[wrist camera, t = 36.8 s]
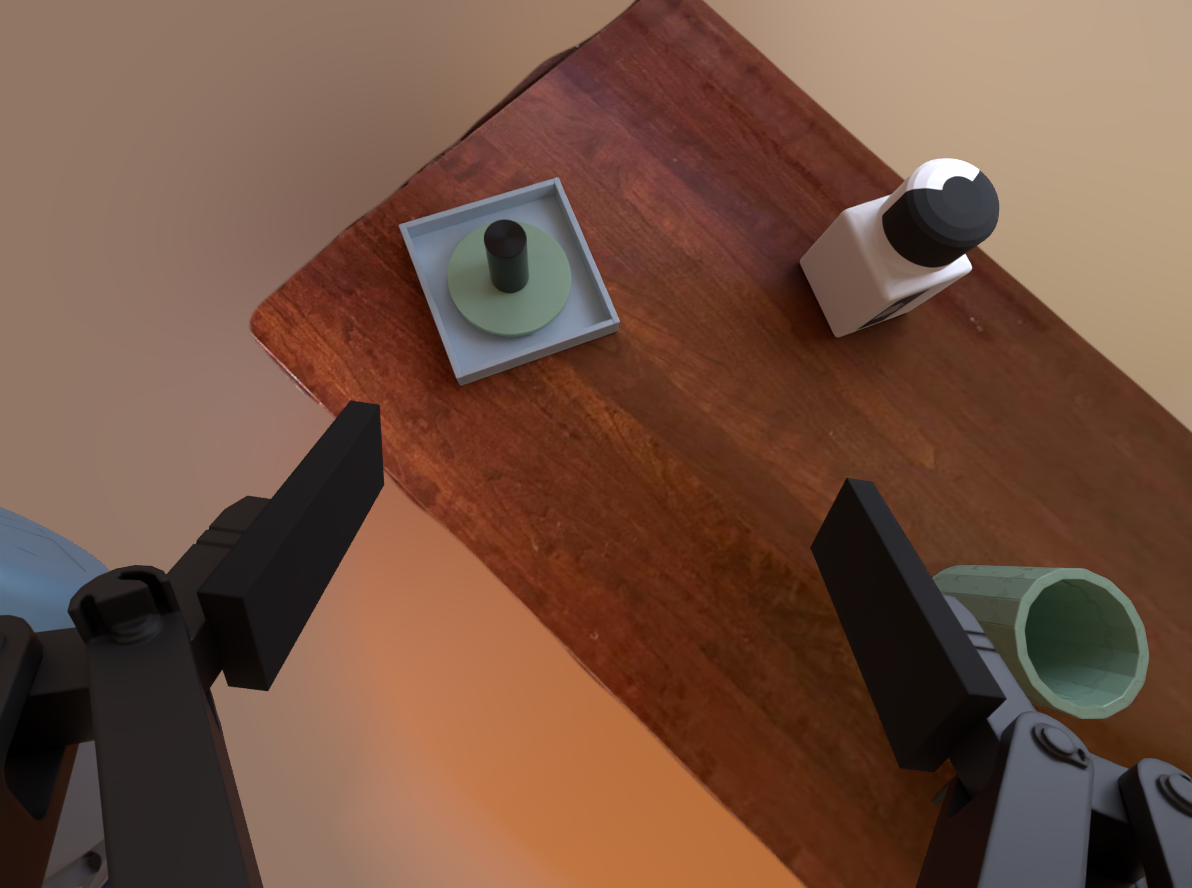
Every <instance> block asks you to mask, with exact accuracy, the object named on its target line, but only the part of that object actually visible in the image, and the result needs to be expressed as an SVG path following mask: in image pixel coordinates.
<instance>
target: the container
mask: <svg viewBox="0 0 1192 888" xmlns="http://www.w3.org/2000/svg"><path fill="white" fill-rule="evenodd" d="M998 216H999V200H998V196H997V193H996V191H995V189H994V187H993V185H992V183H991V182H990V180H989V179H988V178H987V177H986V176H985V175H984V174H983V173H982V172H981V171H980V170H979V169H977V168H976V167H974V166H972V165H970V164H969V163H966V162H964V161H961V160H956V159H935V160H931V161H928V162H926V163H924V164H923V165H921V166H919V167H918V168H917V169H916V170H915V171H914V172H913V173H912V174H911V175H910V176H909V177H908V178H907V179H906V180H905V181H904V182H903V183H902V184H901V185H900V186H899V187H898V188H897V189H896V190H895V191H894V192H893V193H892V194H891V195H888V196H885V197H882V198H879V199H876V200H873V201H870V202H867V203H864V204H861V205H858V206H855V207H852V208H849V209H846V210H844V211H843V212H842V213H841V214H840V215H839V216H838V217H837V219H836V220H835V221H834V222H833V223H832V224H831V225H830V226H829V228H828V229H827V230H826V231H825V232H824V233H823V234H822V235H821V237H820V238H819V239H818V240H817V241H816V242H815V243H814V245H813V246H812V247H811V248H810V249H809V250H808V251H807V252H806V254H805V255H804V256H803V257H802V258H801V260H800V265H801V267H802V269H803V271H804V273H805V275H806V277H807V280H808V282H809V284H810V286H811V288H812V290H813V292H814V294H815V296H816V298H817V300H818V303H819V305H820V307H821V309H822V311H823V313H824V315H825V317H826V319H827V321H828V324H829V326H830V328H831V330H832V332H833V334H834V336H835V337H842V336H844V335H847V334H850V333H853V332H855V331H858V330H861V329H863V328H866V327H869V326H872V325H874V324H877V323H880V322H882V321H885V320H888V319H891V318H893V317H896V316H899V315H901V314H904V313H907V312H909V311H911V310H912V309H914V308H915V307H917V306H918V305H920V304H922V303H923V302H925V301H926V300H928V299H929V298H931V297H932V296H934V295H935V294H937V293H938V292H940V291H941V290H943V289H945V288H946V287H948V286H949V285H951V284H952V283H954V282H955V281H957V280H958V279H960V278H961V277H963V276H964V275H966V274H968V273H969V272H970V271H971V269H972V266H971V264H970V262H969V260H968V258H967V256H966V253H967V252H969V251H970V250H971V249H973V248H974V247H976V246H977V245H979V244H980V243H981V242H983V241H984V240H985V239H987V238H988V237H989V236H990V235H991V233H992V232H993V230H994V229H995V227H996V224H997V221H998Z"/></svg>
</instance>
